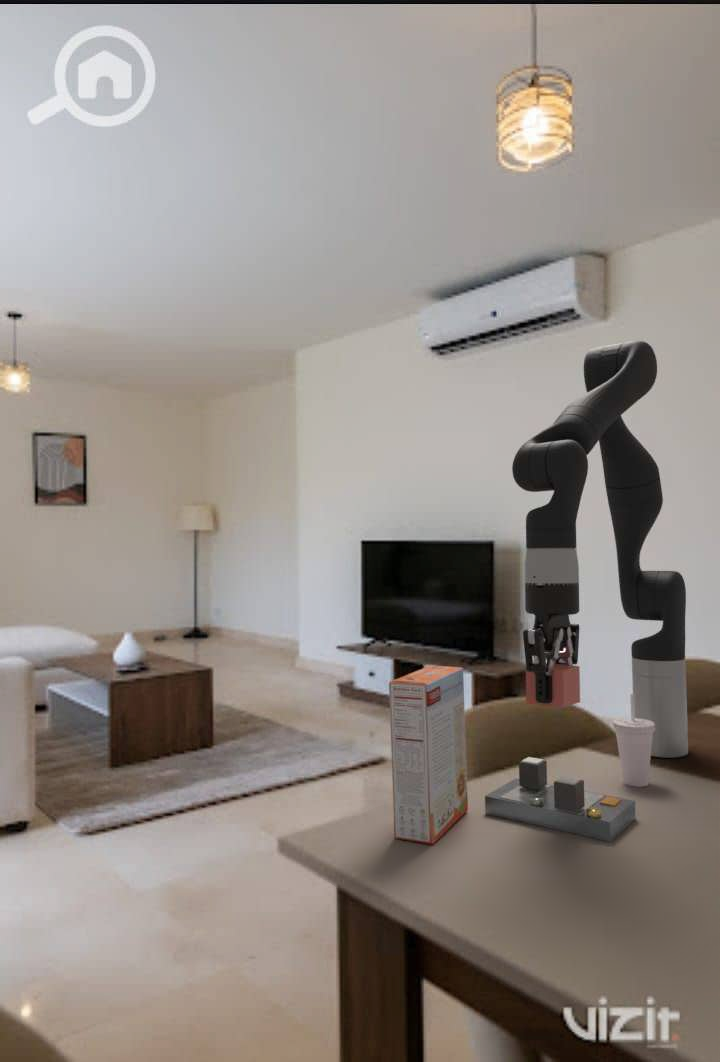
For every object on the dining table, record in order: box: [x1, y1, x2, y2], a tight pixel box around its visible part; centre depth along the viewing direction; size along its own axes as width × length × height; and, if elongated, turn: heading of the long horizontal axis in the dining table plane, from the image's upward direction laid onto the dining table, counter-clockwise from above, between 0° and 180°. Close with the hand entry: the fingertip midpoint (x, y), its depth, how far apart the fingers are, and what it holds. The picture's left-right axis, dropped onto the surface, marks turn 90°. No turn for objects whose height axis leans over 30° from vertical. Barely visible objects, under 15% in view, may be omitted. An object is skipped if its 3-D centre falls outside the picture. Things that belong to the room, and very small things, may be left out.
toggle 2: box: [553, 775, 585, 813], centre depth 100 cm, size 3×3×4 cm
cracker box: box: [388, 665, 469, 845], centre depth 103 cm, size 14×6×21 cm, turn 152°
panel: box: [484, 778, 637, 843], centre depth 105 cm, size 10×18×3 cm, turn 52°
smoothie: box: [612, 693, 655, 788], centre depth 119 cm, size 6×6×14 cm
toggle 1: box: [518, 756, 548, 790], centre depth 110 cm, size 3×3×4 cm
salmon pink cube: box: [525, 662, 581, 709], centre depth 106 cm, size 6×6×5 cm
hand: (553, 698), depth 106 cm, fingers closed on salmon pink cube, 5 cm apart
